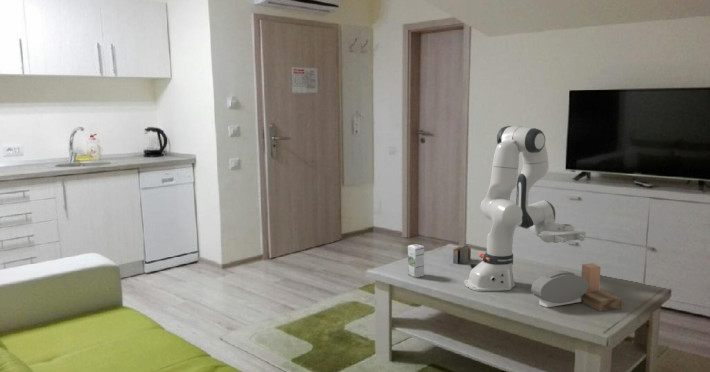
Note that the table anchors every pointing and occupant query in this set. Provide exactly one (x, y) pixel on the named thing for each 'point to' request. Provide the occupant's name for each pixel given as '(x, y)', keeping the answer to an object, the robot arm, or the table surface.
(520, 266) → the table surface
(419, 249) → the syrup box
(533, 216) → the robot arm
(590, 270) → the terracotta block
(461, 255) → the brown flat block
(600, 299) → the block
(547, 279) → the alarm clock
